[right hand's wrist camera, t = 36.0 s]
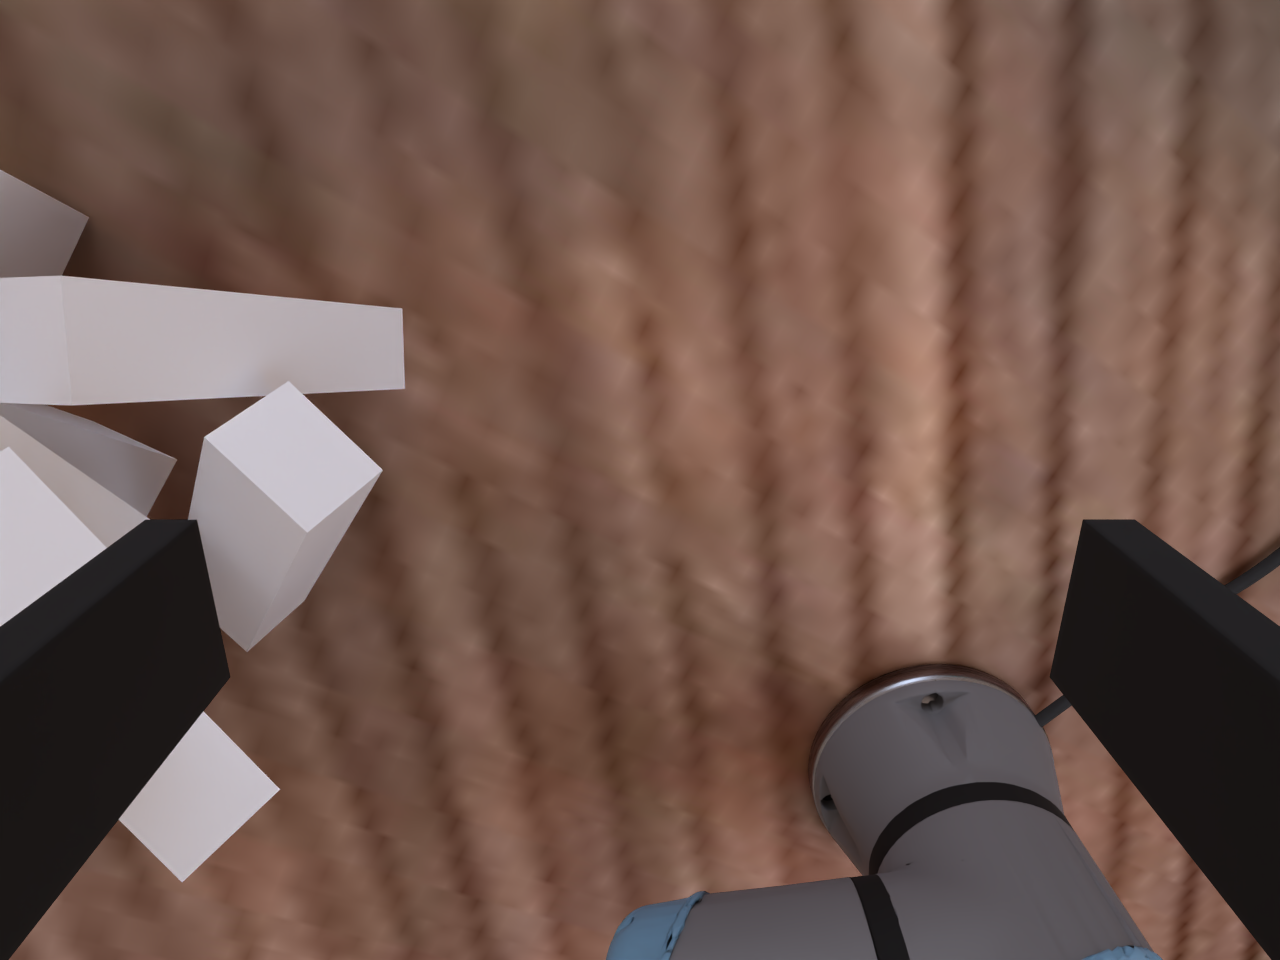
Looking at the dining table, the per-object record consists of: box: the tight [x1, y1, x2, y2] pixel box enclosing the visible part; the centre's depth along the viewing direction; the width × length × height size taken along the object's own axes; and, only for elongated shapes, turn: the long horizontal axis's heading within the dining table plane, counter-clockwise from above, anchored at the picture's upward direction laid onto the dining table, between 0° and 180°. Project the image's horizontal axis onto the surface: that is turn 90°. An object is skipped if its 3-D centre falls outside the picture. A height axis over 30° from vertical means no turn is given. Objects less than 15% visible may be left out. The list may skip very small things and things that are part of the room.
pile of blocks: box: [0, 170, 405, 882], centre depth 37 cm, size 35×30×35 cm
